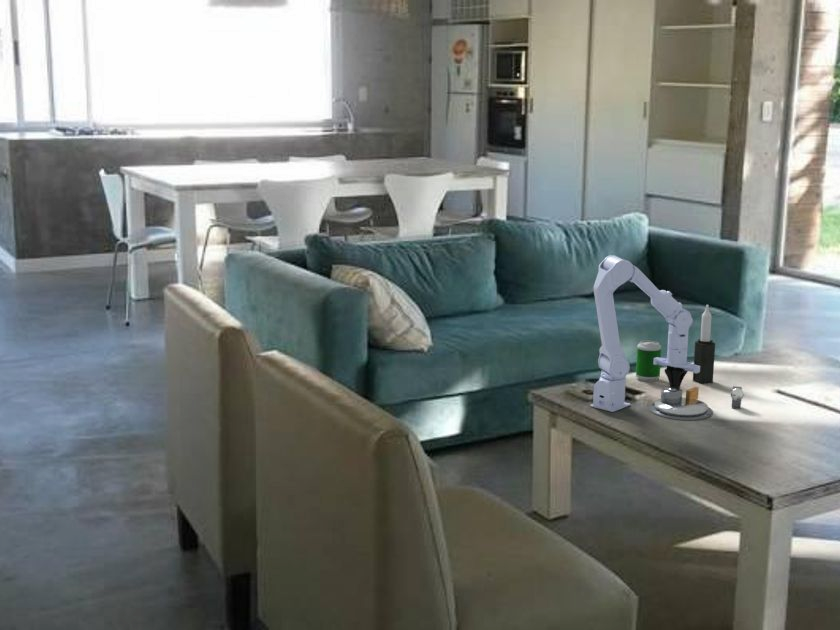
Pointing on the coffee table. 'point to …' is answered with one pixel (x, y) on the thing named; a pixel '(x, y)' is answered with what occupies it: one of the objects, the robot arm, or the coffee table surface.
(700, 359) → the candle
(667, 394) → the cover
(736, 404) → the grey cube on chrome
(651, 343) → the soda can
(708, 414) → the turntable base
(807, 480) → the coffee table surface
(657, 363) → the robot arm
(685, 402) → the turntable
